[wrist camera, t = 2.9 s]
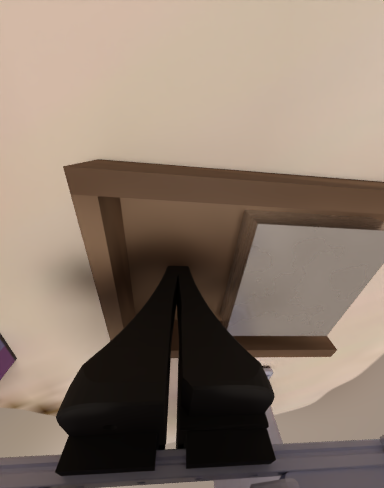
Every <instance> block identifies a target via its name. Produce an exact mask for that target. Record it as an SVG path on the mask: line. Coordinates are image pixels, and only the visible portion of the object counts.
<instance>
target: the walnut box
mask: <svg viewBox="0 0 384 488" xmlns="http://www.w3.org/2000/svg"><path fill="white" fill-rule="evenodd" d="M63 168H64V171H65V175H66V179H67V183H68V186H69V190H70V194H71V197H72V201H73V205H74V208H75V212H76V216H77V219H78V223H79V227H80V230H81V234H82V238H83V241H84V245H85V249H86V252H87V256H88V260H89V263H90V267H91V271H92V274H93V278H94V282H95V285H96V289H97V293H98V296H99V300H100V304H101V307H102V311H103V315H104V318H105V322H106V326H107V329H108V333H109V337H110V340H112V339H113V338H114V337H115V336H116V335H118V334H119V333H120V332H121V331H122V330H123V329H124V328H125V327H126V326H127V325H128V324H129V323H130V321H131V320H132V319H133V318H134V317H135V316H136V315H137V314H138V312H139V311H140V310H141V309H142V308H143V306H144V305H145V304H146V302H147V301H148V300H149V298H150V297H151V295H152V294H153V292H154V291H155V289H156V288H157V286H158V284H159V283H160V281H161V279H162V277H163V275H164V273H165V271H166V268H167V267H168V266H188V267H189V268H190V272H191V274H192V277H193V279H194V282H195V284H196V286H197V288H198V290H199V291H200V293H201V295H202V297H203V298H204V300H205V302H206V303H207V305H208V306H209V308H210V309H211V311H212V312H213V313H214V315H215V316H216V317H217V319H218V320H219V321H220V322H221V324H222V325H223V323H222V319H221V314H220V312H221V308H222V304H223V299H224V295H225V291H226V287H227V283H228V279H229V275H230V270H231V266H232V262H233V258H234V254H235V250H236V245H237V241H238V237H239V233H240V229H241V225H242V220H243V216H244V212H245V210H256V211H272V212H289V213H305V214H322V215H338V216H354V217H371V218H374V219H377V220H379V221H382V222H384V182H377V181H365V180H352V179H339V178H327V177H314V176H301V175H289V174H276V173H263V172H251V171H238V170H225V169H213V168H200V167H187V166H175V165H162V164H149V163H137V162H124V161H112V160H99V159H98V160H93V161H88V162H83V163H78V164H73V165H68V166H63ZM233 337H234V338H235V339H236V340H237V341H238V342H239V343H240V344H241V345H242V346H243V347H244V348H245V349H246V350H247V351H248V352H249V353H250V354H251V355H252V356H253V357H331V356H332V355H333V354H334V353H335V352H336V350H337V349H336V348H335V346H334V345H333V344H332V342H331V341H330V340H329V338H328V337H327V336H233ZM171 358H179V336H178V319H177V305H176V313H175V320H174V327H173V335H172V343H171Z"/></svg>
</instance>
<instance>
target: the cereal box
mask: <svg viewBox="0 0 384 488" xmlns="http://www.w3.org/2000/svg"><path fill="white" fill-rule="evenodd" d="M16 359H17V358H16V356H15V355H14V353H13V352H12V350H11V349H10V347H9V346H8V344H7V343H6V341H5V340H4V338H3V337H2V335H1V334H0V380H1V378H2V377H3V376H4V374H5V373H6V372H7V371H8V369H9V368H10V367H11V365H12V364H13V363H14V361H15V360H16Z"/></svg>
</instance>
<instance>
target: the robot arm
mask: <svg viewBox="0 0 384 488" xmlns="http://www.w3.org/2000/svg"><path fill="white" fill-rule="evenodd" d="M176 305H177V319H178V336H179V360H178V398H177V433H176V449H168V450H165V444H166V435H167V416H168V396H169V377H170V359H171V343H172V335H173V327H174V320H175V313H176ZM272 374H273V371H272V369H271V368H263V367H262V365H261V363H260V362H259V361H257V360H256V359H255V358H254V357H253V356H252V355H251V354H250V353H249V352H248V351H247V350H246V349H245V348H244V347H243V346H242V345H241V344H240V343H239V342H238V341H237V340H236V339H235V338H234V337H233V336H232V335H231V334H230V333H229V332H228V330H227V329H226V328H225V327H224V326H223V325H222V324H221V322H220V321H219V320H218V319H217V317H216V316H215V315H214V313H213V312H212V311H211V309H210V308H209V306H208V305H207V303H206V302H205V300H204V298H203V297H202V295H201V293H200V291H199V290H198V288H197V286H196V284H195V282H194V279H193V277H192V274H191V272H190V268H189V267H188V266H168V267H167V268H166V271H165V273H164V275H163V277H162V279H161V281H160V283H159V284H158V286H157V288H156V289H155V291H154V292H153V294H152V295H151V297H150V298H149V300H148V301H147V302H146V304H145V305H144V306H143V308H142V309H141V310H140V311H139V312H138V314H137V315H136V316H135V317H134V318H133V319H132V320H131V321H130V323H129V324H128V325H127V326H126V327H125V328H124V329H123V330H122V331H121V332H120V333H119V334H118V335H116V336H115V337H114V338H113V339H112V340H111V341H110V342H109V343H108V344H107V345H106V346H105V347H103V348H102V349H101V350H100V351H99V352H98V353H96V354H95V355H94V356H93V357H92V358H90V359H89V360H88V361H87V362H86V363H84V364H83V365H82V367H81V368H80V370H79V372H78V373H77V375H76V376H75V378H74V380H73V382H72V383H71V385H70V387H69V389H68V391H67V393H66V395H65V398H64V400H63V402H62V404H61V406H60V408H59V411H58V413H57V416H56V419H57V422H58V423H59V425H60V426H61V427H62V428H63V429H64V430H65V432H66V433H67V434H68V435H69V437H68V439H67V442H66V445H65V447H64V450H63V452H62V455H46V456H24V457H5V458H0V488H101V487H117V486H132V485H147V484H164V483H179V482H195V481H210V480H214V488H384V435H383V436H381V437H380V439H370V440H351V441H331V442H330V441H329V442H309V443H289V444H283V442H282V439H281V436H280V433H279V430H278V427H277V424H276V421H275V418H274V415H273V412H272V409H271V406H270V405H271V404H272V402H273V400H274V393H273V390H272V387H271V384H270V382H269V379H270V377H271V376H272Z"/></svg>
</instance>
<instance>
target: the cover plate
mask: <svg viewBox="0 0 384 488" xmlns="http://www.w3.org/2000/svg"><path fill="white" fill-rule="evenodd" d="M383 263H384V222H382V221H379V220H377V219H374V218H371V217H354V216H338V215H322V214H305V213H289V212H272V211H256V210H245V212H244V216H243V220H242V225H241V229H240V233H239V237H238V241H237V245H236V250H235V254H234V258H233V262H232V266H231V270H230V275H229V279H228V283H227V287H226V291H225V295H224V299H223V304H222V308H221V312H220V314H221V319H222V323H223V326H224V327H225V328H226V329H227V330H228V332H229V333H230V334H231V335H232V336H327V335H328V334H329V332H330V331H331V330H332V328H333V327H334V326H335V325H336V323H337V322H338V321H339V319H340V318H341V317H342V316H343V314H344V313H345V312H346V311H347V309H348V308H349V307H350V305H351V304H352V303H353V302H354V300H355V299H356V298H357V297H358V295H359V294H360V293H361V291H362V290H363V289H364V288H365V286H366V285H367V284H368V283H369V281H370V280H371V279H372V277H373V276H374V275H375V274H376V272H377V271H378V270H379V269H380V267H381V266H382V265H383Z"/></svg>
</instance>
